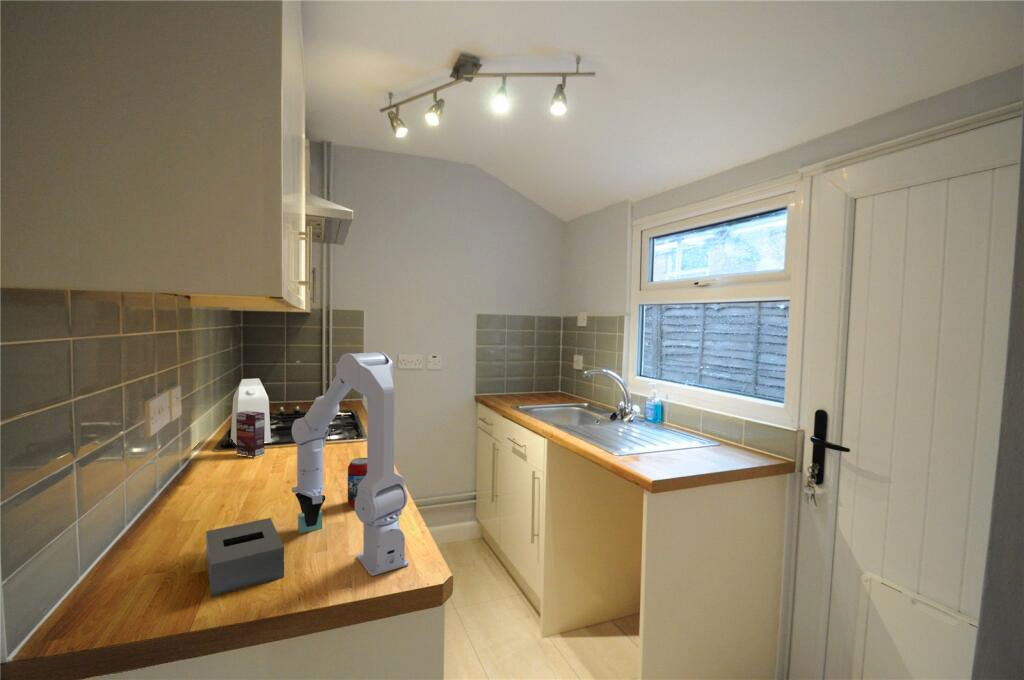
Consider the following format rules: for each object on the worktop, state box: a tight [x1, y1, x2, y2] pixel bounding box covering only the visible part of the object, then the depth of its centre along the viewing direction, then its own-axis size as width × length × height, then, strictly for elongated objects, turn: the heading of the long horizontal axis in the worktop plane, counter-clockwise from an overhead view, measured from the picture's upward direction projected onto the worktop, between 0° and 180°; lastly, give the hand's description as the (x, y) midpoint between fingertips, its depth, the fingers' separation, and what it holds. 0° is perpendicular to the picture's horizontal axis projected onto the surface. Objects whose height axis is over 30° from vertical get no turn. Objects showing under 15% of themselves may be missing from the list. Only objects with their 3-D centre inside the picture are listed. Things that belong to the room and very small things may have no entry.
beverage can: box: [347, 457, 367, 508], centre depth 128 cm, size 7×7×12 cm
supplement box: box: [236, 411, 265, 457], centre depth 169 cm, size 9×5×16 cm, turn 73°
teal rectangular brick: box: [297, 509, 323, 534], centre depth 112 cm, size 2×5×4 cm, turn 126°
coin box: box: [205, 517, 285, 598], centre depth 94 cm, size 16×12×6 cm
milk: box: [230, 377, 272, 445], centre depth 184 cm, size 12×12×26 cm
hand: (310, 523), depth 112 cm, fingers closed on teal rectangular brick, 2 cm apart
